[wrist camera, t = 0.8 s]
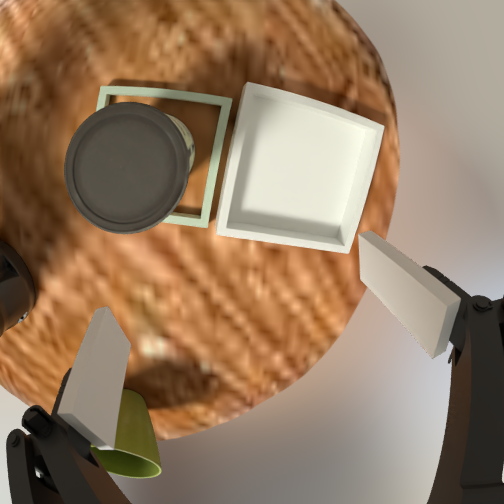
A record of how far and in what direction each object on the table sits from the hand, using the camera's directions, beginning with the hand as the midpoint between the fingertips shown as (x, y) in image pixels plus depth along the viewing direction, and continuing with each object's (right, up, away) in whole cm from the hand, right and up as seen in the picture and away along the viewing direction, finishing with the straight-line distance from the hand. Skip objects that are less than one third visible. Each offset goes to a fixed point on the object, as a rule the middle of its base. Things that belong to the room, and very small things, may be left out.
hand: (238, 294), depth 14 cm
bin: (+6, +12, +21) cm, 26 cm away
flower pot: (-25, -28, +35) cm, 51 cm away
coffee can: (-11, +14, +18) cm, 25 cm away
